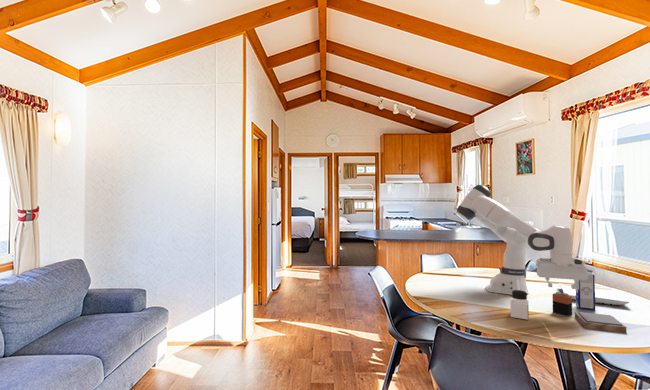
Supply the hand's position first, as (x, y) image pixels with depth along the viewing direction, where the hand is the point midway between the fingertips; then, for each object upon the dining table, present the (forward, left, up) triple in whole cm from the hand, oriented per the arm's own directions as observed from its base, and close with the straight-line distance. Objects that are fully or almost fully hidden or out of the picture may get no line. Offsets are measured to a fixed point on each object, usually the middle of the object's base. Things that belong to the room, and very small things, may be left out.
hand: (561, 287), depth 161 cm
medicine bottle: (-20, -12, -13) cm, 26 cm away
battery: (0, 0, -13) cm, 13 cm away
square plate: (+22, +38, -13) cm, 46 cm away
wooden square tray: (+11, -11, -12) cm, 20 cm away
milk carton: (+13, +14, -13) cm, 23 cm away
